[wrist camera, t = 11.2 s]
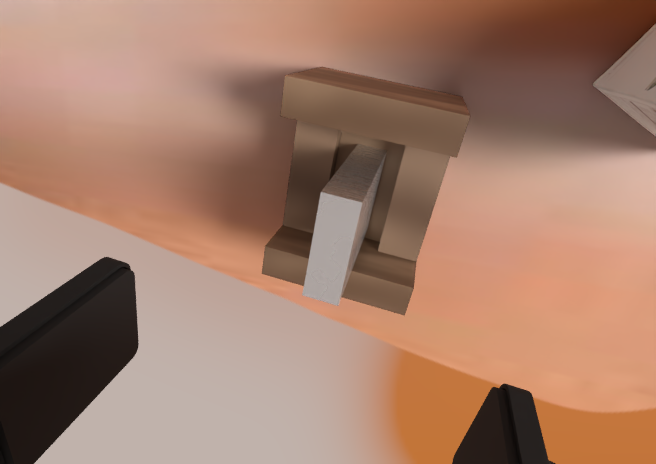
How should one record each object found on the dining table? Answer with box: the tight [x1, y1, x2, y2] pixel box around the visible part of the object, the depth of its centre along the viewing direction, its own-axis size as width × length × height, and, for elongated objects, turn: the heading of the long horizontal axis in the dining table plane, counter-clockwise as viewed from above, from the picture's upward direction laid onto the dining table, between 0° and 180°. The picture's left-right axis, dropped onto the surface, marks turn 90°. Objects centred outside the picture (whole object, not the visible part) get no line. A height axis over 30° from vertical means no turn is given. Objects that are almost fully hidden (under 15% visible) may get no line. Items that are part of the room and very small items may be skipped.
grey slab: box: [302, 144, 387, 306], centre depth 25 cm, size 6×2×10 cm, turn 170°
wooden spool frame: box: [262, 67, 470, 315], centre depth 28 cm, size 13×10×8 cm
